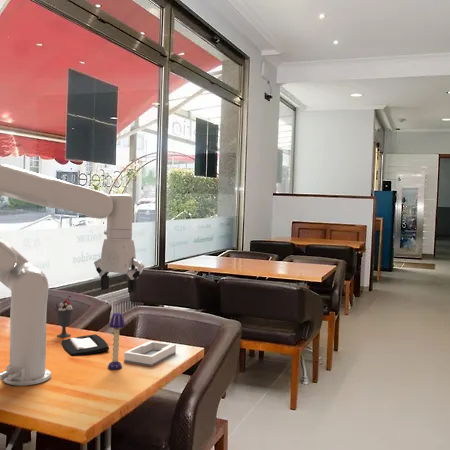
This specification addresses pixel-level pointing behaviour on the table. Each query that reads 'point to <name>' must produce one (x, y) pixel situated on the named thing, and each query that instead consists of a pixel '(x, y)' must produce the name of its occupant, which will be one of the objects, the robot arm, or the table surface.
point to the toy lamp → (116, 339)
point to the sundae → (64, 316)
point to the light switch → (84, 345)
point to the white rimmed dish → (149, 353)
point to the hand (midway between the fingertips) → (118, 290)
